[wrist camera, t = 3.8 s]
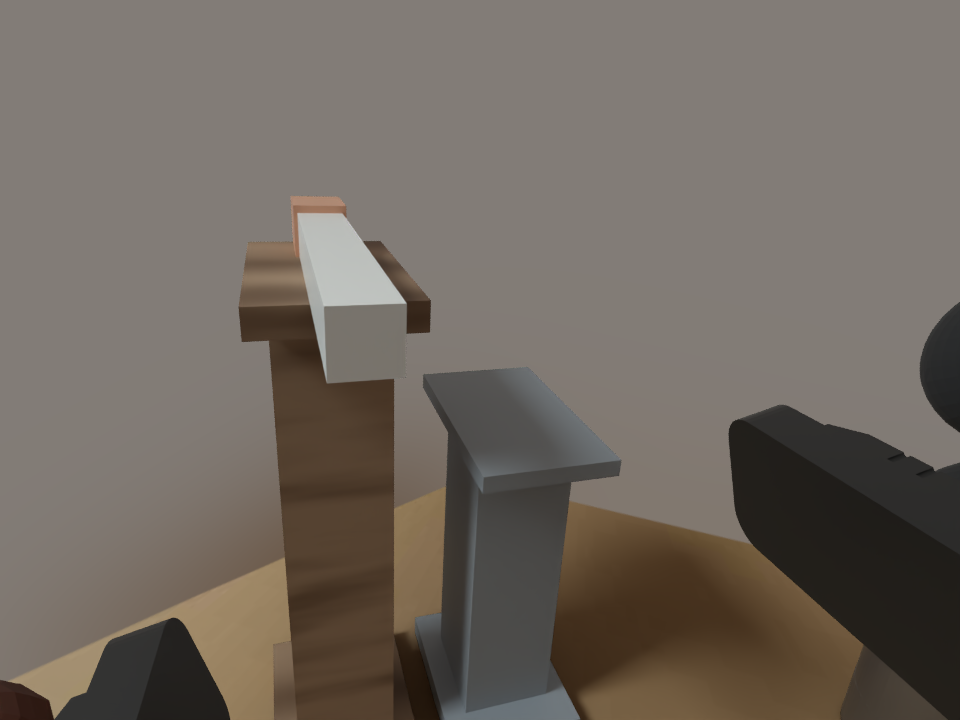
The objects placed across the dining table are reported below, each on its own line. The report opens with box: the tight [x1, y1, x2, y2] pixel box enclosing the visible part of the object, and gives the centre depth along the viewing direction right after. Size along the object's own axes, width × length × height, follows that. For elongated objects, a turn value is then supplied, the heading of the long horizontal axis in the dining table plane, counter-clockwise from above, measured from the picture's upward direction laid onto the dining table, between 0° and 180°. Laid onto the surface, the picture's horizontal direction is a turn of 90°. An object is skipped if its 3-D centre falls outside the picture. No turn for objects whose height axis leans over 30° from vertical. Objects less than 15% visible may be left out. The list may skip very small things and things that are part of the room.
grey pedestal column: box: [415, 367, 621, 720], centre depth 44 cm, size 14×9×22 cm, turn 18°
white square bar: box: [291, 196, 407, 384], centre depth 28 cm, size 22×3×3 cm, turn 18°
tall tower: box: [239, 241, 431, 720], centre depth 39 cm, size 14×9×32 cm, turn 18°
